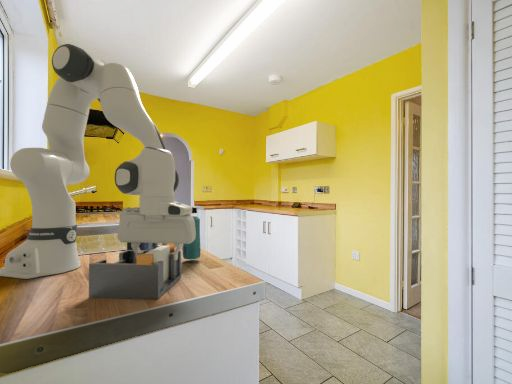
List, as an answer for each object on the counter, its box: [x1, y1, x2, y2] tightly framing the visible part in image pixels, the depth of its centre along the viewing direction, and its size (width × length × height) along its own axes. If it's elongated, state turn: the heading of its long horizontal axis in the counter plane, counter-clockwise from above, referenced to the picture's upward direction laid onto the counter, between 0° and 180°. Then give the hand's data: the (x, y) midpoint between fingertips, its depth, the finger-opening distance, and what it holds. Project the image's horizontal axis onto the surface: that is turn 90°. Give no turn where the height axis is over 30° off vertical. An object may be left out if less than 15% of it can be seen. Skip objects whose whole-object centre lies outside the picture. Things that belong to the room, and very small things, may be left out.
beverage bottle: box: [181, 206, 201, 260], centre depth 90 cm, size 6×7×20 cm
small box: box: [126, 242, 159, 250], centre depth 94 cm, size 11×6×10 cm, turn 168°
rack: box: [88, 243, 182, 300], centre depth 66 cm, size 17×15×10 cm
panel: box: [145, 244, 170, 282], centre depth 65 cm, size 2×10×9 cm, turn 177°
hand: (156, 259), depth 65 cm, fingers open, 8 cm apart
